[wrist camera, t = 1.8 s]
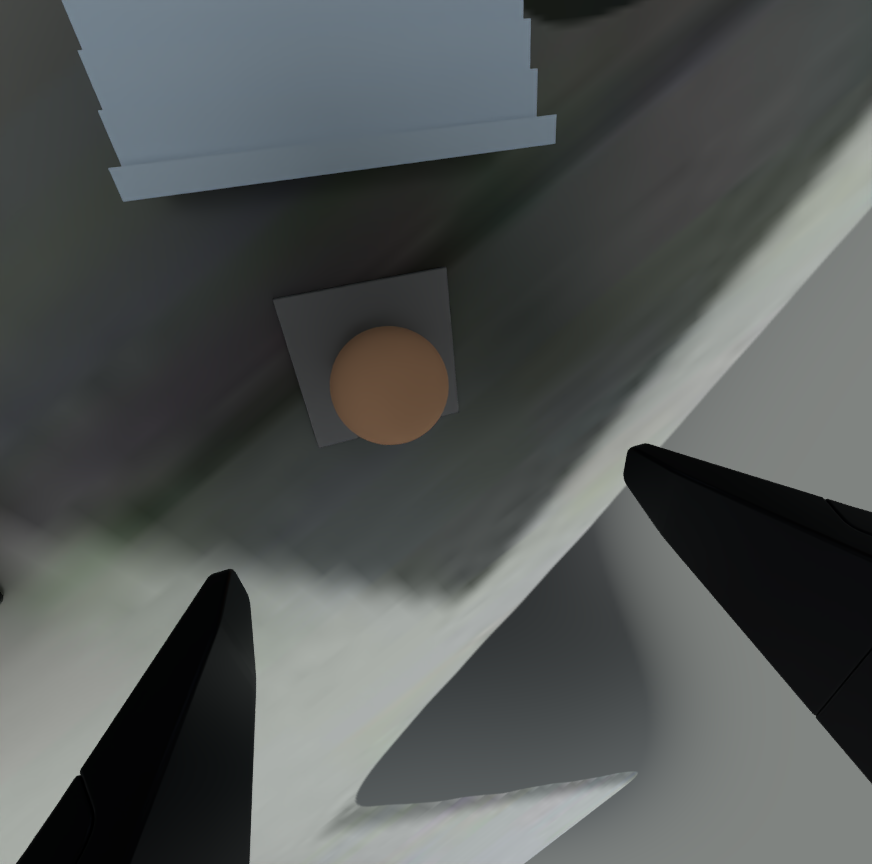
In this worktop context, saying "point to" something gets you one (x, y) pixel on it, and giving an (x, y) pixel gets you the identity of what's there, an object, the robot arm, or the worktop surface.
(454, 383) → the tee mat
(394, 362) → the rubber ball
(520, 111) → the staircase
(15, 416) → the worktop surface
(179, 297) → the worktop surface
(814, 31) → the worktop surface
